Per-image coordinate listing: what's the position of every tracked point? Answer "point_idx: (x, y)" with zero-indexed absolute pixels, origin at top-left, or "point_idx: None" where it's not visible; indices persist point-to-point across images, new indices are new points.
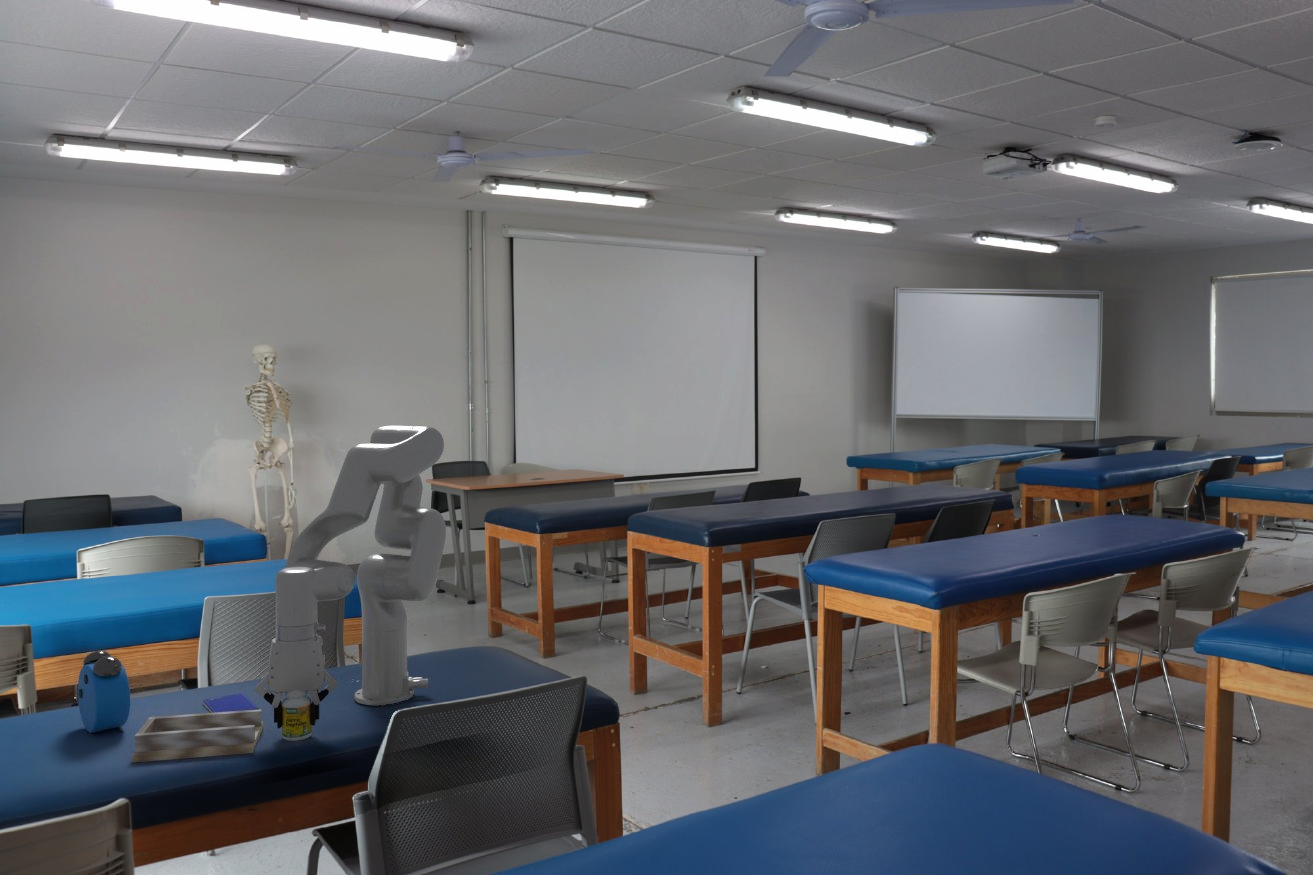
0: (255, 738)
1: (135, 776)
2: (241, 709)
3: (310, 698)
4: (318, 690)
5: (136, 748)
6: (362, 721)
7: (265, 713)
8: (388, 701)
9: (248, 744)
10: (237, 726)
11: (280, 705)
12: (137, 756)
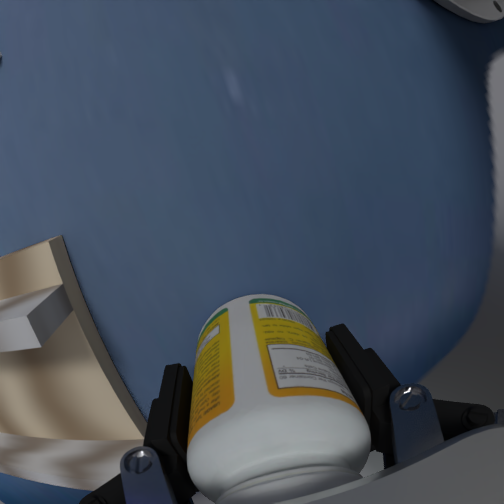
0: (134, 425)
1: (36, 487)
2: None
3: (369, 441)
4: (438, 439)
5: None
6: (459, 167)
7: (21, 62)
8: (487, 20)
9: None
10: (88, 481)
11: (194, 485)
12: None
